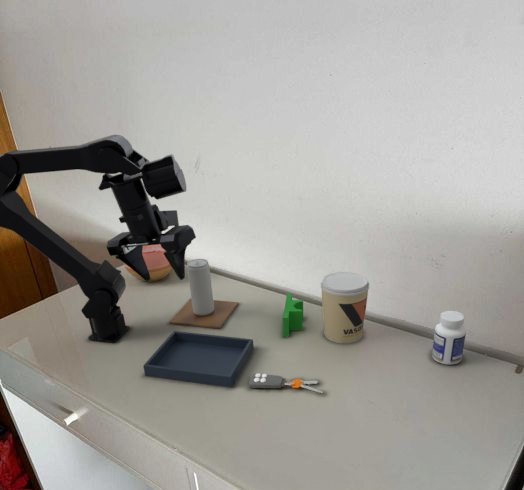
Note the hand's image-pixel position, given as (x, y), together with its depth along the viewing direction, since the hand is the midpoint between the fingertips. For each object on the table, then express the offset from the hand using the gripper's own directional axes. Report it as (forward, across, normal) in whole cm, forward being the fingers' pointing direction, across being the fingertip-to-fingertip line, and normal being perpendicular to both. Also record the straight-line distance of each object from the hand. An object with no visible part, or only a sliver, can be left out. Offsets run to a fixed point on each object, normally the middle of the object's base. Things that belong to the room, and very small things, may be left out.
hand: (165, 279), depth 101 cm
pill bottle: (+24, -51, -10) cm, 57 cm away
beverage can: (+13, +1, -8) cm, 15 cm away
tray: (+14, -10, +9) cm, 19 cm away
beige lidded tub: (+20, -30, -11) cm, 38 cm away
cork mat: (+13, +1, -8) cm, 16 cm away
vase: (+10, +25, -21) cm, 34 cm away
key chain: (+17, -28, +10) cm, 34 cm away
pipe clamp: (+18, -20, -11) cm, 29 cm away
